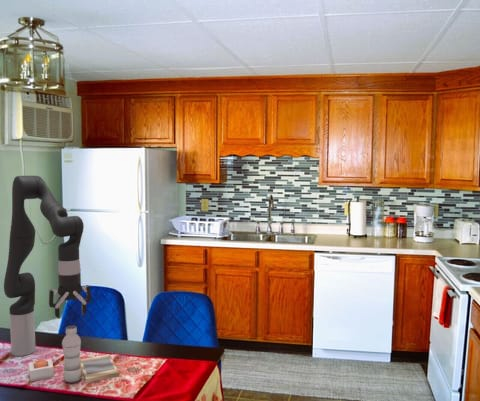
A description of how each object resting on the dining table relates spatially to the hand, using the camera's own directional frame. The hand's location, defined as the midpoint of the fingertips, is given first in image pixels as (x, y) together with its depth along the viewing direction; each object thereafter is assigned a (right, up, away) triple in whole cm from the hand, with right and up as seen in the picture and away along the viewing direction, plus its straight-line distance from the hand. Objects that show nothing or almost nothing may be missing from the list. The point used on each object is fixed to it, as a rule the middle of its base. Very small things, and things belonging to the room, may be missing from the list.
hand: (70, 315), depth 171 cm
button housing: (-13, -24, +7) cm, 28 cm away
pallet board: (+7, -23, +11) cm, 27 cm away
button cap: (-13, -23, +6) cm, 27 cm away
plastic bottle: (0, -24, +2) cm, 25 cm away
